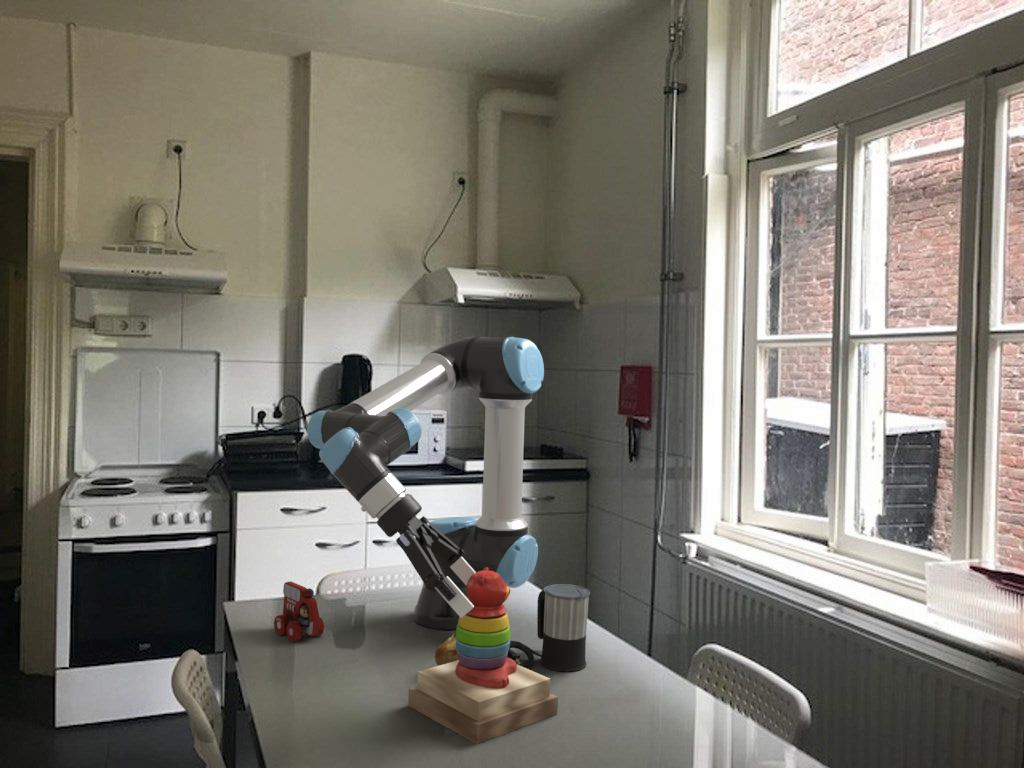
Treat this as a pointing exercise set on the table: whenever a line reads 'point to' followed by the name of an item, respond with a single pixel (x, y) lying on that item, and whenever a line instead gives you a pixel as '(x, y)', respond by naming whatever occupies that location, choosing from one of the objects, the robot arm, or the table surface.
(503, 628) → the stacking bear
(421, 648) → the table surface
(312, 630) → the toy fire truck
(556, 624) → the milk frother
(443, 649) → the onion
